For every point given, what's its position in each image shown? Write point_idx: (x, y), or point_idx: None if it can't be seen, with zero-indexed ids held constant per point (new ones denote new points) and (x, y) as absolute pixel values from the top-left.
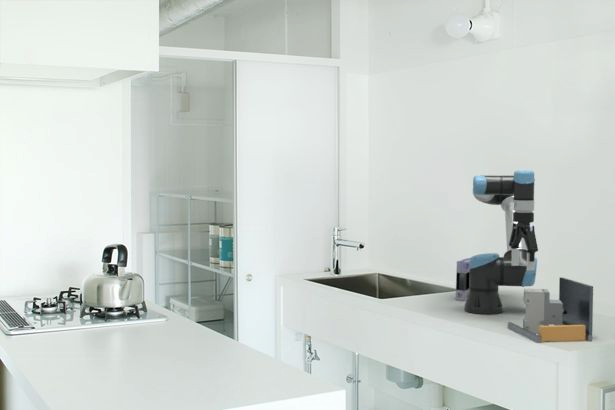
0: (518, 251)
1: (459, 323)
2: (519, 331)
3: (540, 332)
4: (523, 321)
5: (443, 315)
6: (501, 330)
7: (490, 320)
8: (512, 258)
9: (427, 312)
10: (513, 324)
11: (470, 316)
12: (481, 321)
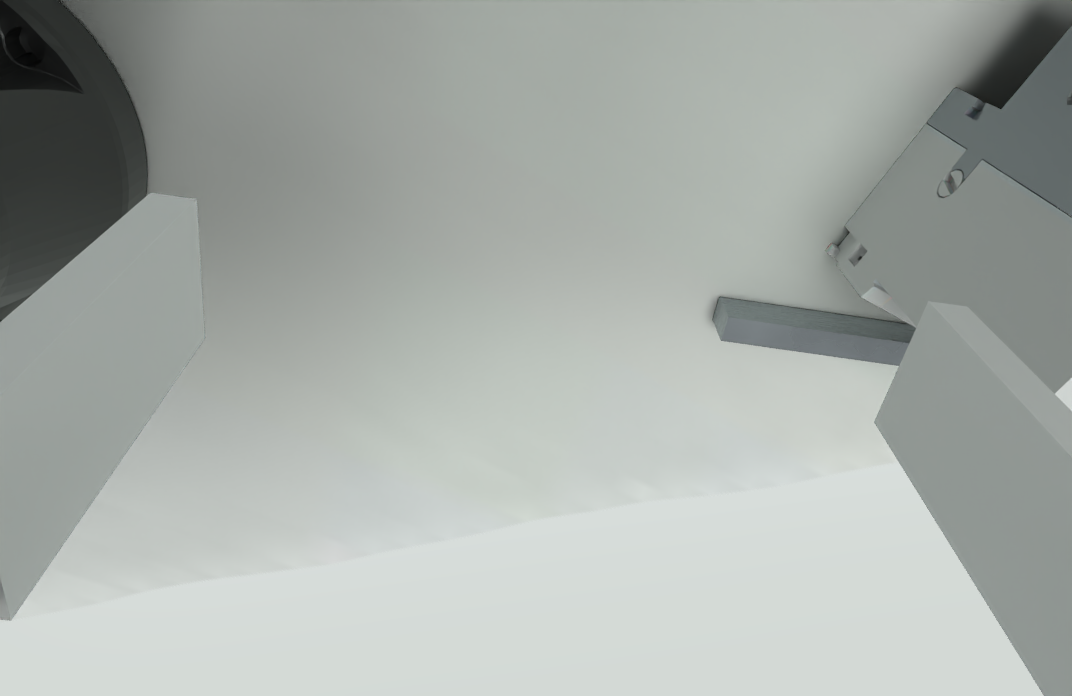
0: (28, 397)
1: (462, 525)
2: None
3: None
4: (855, 281)
5: (159, 501)
6: (772, 400)
7: (411, 293)
8: (143, 427)
9: None
10: (814, 344)
11: (219, 354)
12: (432, 373)
